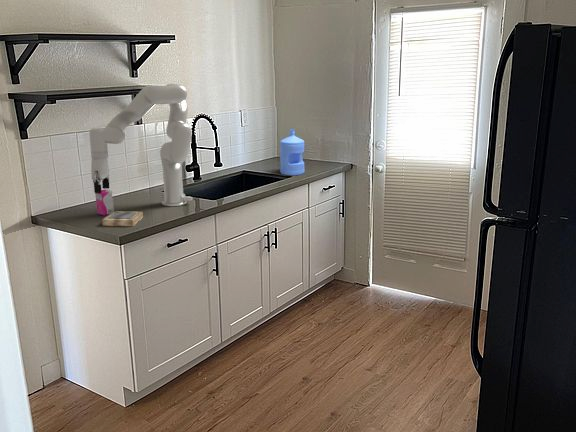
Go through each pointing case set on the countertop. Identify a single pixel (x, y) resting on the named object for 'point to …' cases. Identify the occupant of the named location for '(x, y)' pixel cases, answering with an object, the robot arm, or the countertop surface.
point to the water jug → (292, 155)
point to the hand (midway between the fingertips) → (102, 190)
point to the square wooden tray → (122, 218)
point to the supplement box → (104, 202)
